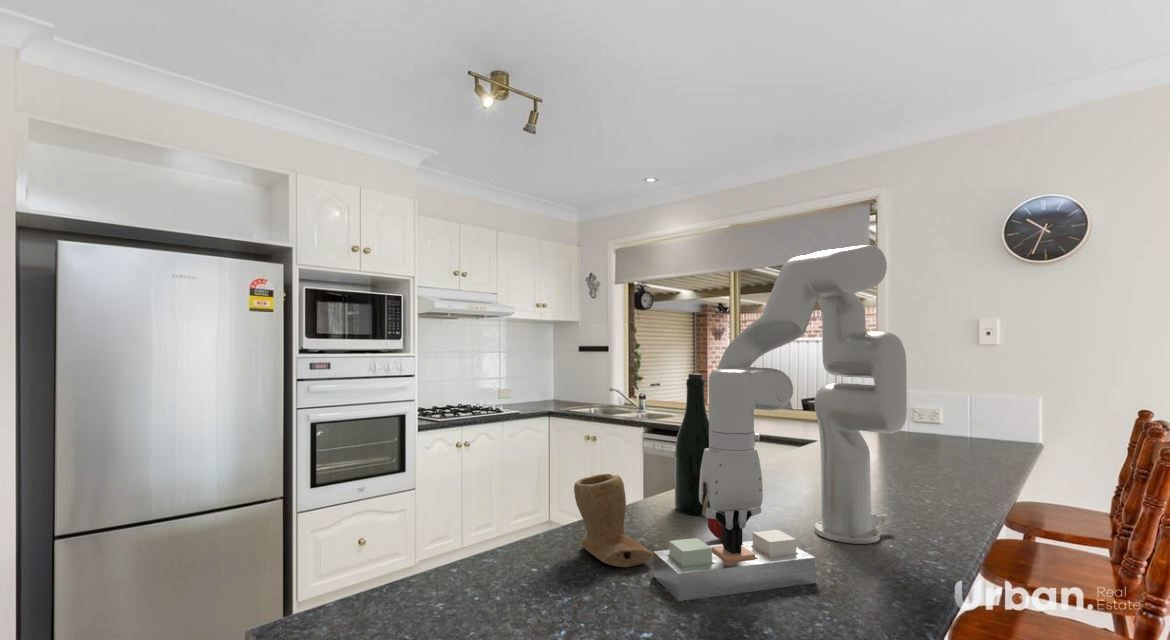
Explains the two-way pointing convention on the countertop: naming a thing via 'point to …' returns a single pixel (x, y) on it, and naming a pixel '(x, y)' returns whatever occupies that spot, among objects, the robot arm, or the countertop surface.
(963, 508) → the countertop surface
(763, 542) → the cream key
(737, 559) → the terracotta key
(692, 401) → the green wine bottle
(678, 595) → the keypad housing
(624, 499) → the brown hollow boot-shaped piece
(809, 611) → the countertop surface
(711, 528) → the onion
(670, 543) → the sage key
